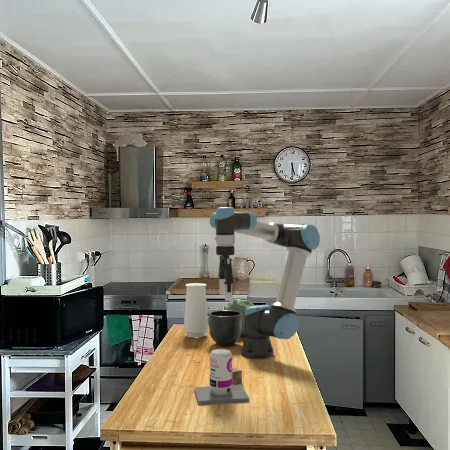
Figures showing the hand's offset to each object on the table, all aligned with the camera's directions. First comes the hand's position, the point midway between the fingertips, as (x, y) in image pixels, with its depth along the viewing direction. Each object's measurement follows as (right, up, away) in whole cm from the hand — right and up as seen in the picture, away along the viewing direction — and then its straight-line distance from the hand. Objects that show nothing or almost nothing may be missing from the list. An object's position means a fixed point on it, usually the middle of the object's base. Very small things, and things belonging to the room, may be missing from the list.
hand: (225, 297), depth 204 cm
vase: (-16, -31, +68) cm, 76 cm away
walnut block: (+3, -33, -6) cm, 33 cm away
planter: (0, -31, +50) cm, 59 cm away
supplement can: (-2, -32, -21) cm, 38 cm away
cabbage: (+9, -31, +70) cm, 78 cm away
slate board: (-2, -33, -21) cm, 39 cm away
